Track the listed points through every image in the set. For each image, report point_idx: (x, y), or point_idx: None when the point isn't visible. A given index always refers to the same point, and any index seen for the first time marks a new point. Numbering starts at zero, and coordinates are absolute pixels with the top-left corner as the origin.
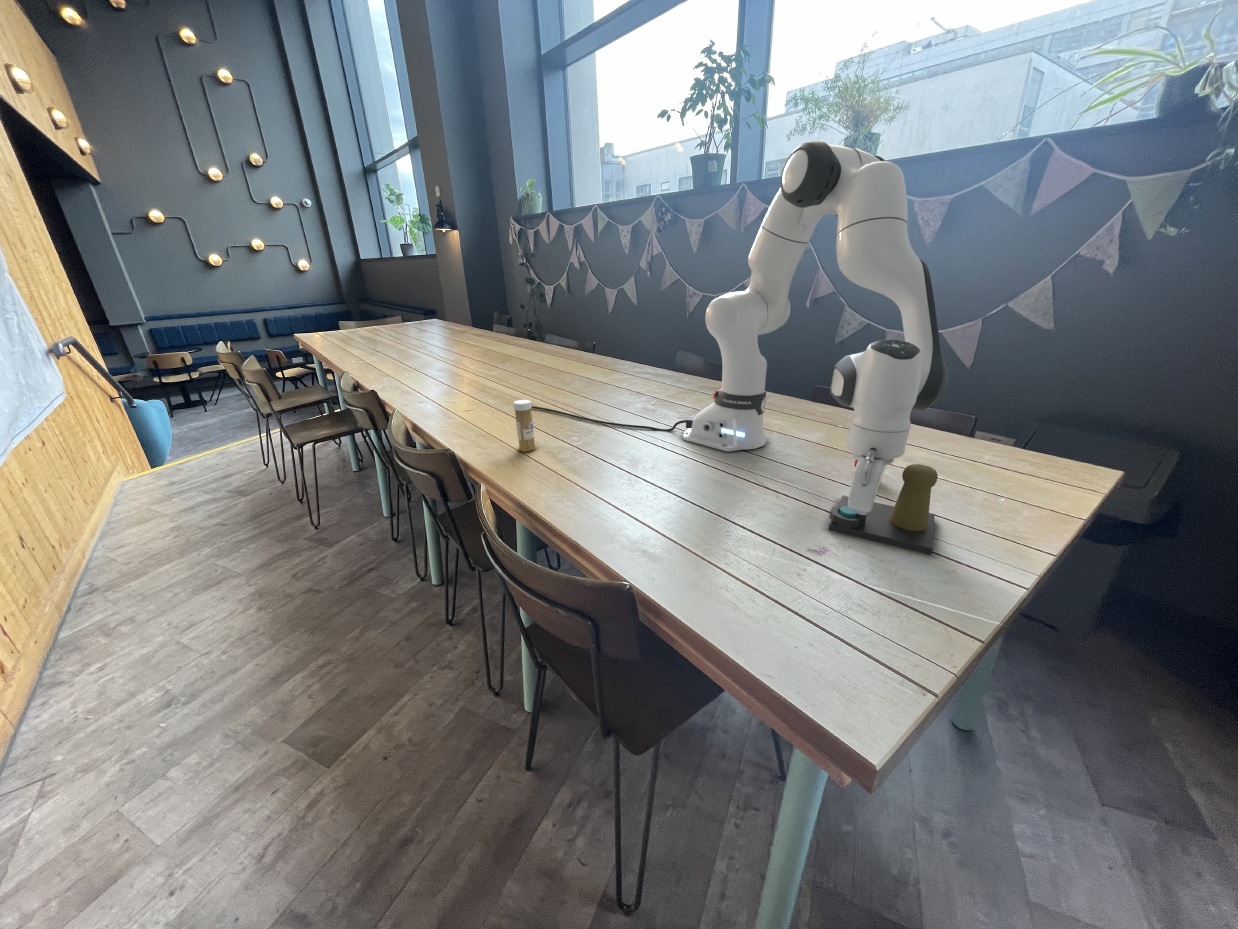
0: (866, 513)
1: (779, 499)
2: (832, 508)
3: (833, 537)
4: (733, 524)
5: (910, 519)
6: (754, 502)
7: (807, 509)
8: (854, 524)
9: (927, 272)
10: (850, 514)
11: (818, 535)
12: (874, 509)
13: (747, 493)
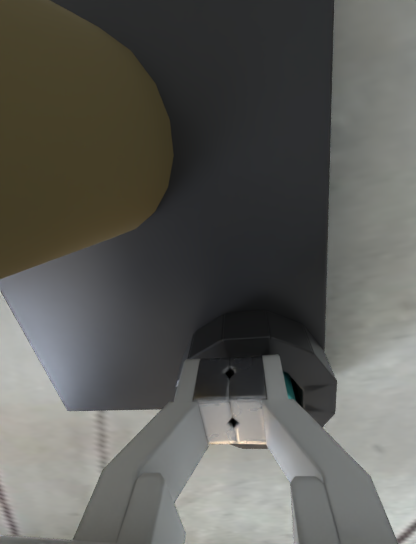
0: (280, 361)
1: (201, 495)
2: (257, 447)
3: (359, 360)
4: (410, 539)
5: (135, 113)
6: (259, 526)
7: (209, 444)
8: (320, 351)
9: None
10: (295, 400)
11: (368, 396)
12: (79, 307)
13: (222, 540)
